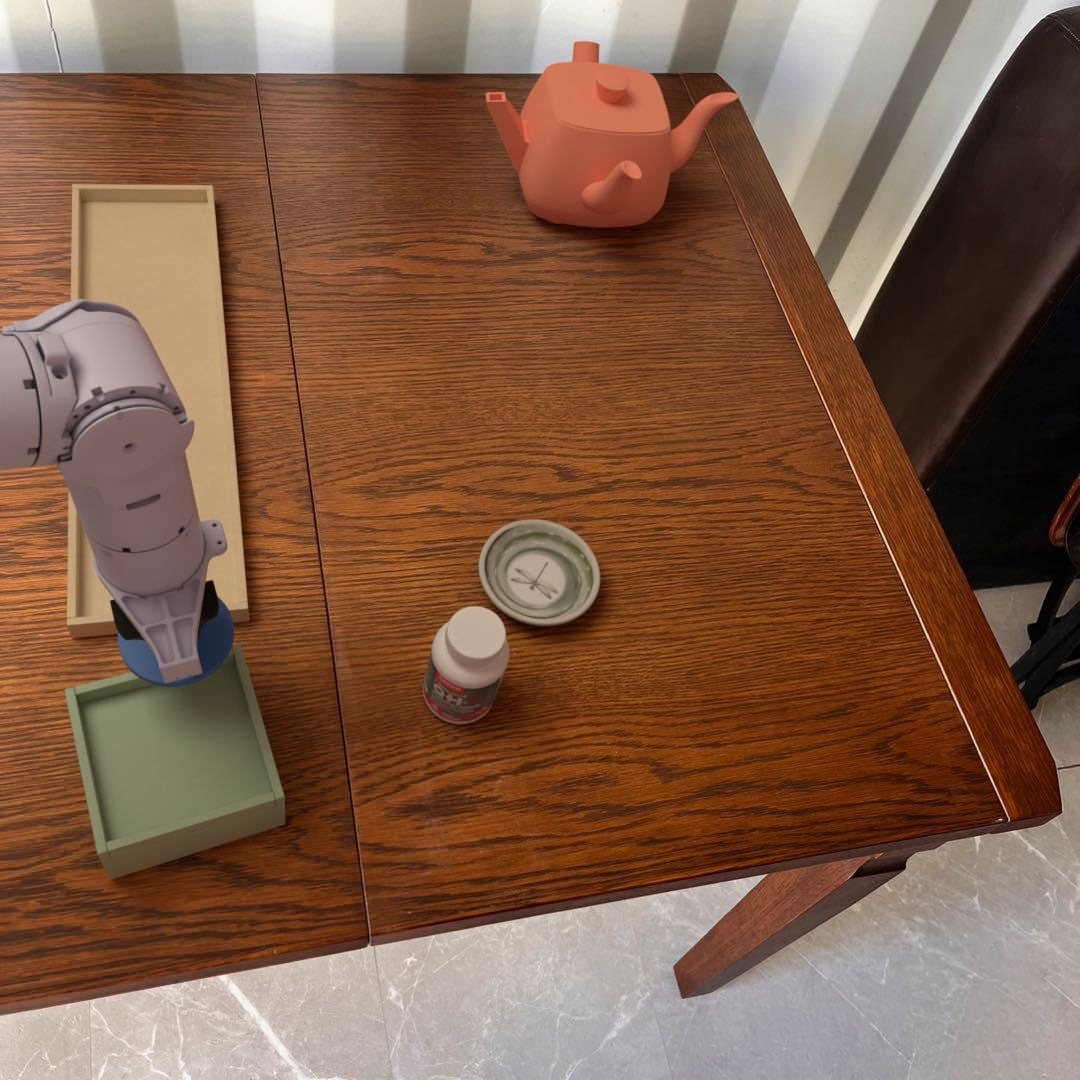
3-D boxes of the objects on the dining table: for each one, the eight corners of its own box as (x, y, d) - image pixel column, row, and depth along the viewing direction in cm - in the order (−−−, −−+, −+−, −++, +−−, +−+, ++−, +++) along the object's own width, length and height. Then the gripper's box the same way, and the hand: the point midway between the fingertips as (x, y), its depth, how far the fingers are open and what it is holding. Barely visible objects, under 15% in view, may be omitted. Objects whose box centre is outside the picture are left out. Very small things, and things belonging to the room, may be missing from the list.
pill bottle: (421, 725, 78) (435, 665, 70) (422, 658, 81) (436, 593, 73) (495, 728, 79) (518, 669, 71) (494, 661, 82) (515, 598, 74)
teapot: (699, 201, 116) (743, 87, 105) (603, 284, 107) (640, 169, 95) (564, 115, 120) (593, -4, 109) (460, 188, 110) (479, 66, 99)
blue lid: (131, 700, 66) (117, 669, 62) (109, 604, 69) (95, 568, 66) (245, 669, 69) (239, 636, 65) (220, 576, 72) (212, 540, 68)
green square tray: (110, 880, 69) (97, 854, 64) (78, 723, 74) (63, 688, 69) (285, 824, 73) (284, 796, 68) (243, 678, 78) (240, 643, 73)
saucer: (605, 554, 89) (612, 538, 87) (579, 654, 84) (586, 640, 82) (493, 519, 89) (497, 502, 87) (460, 616, 84) (464, 601, 82)
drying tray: (249, 621, 80) (248, 608, 78) (71, 638, 77) (66, 625, 75) (214, 201, 103) (212, 184, 101) (75, 201, 99) (72, 183, 98)
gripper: (249, 604, 54) (267, 710, 66) (186, 384, 61) (212, 515, 72) (102, 642, 52) (146, 744, 63) (52, 410, 58) (101, 541, 70)
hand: (173, 625), depth 68 cm, fingers closed on blue lid, 2 cm apart
